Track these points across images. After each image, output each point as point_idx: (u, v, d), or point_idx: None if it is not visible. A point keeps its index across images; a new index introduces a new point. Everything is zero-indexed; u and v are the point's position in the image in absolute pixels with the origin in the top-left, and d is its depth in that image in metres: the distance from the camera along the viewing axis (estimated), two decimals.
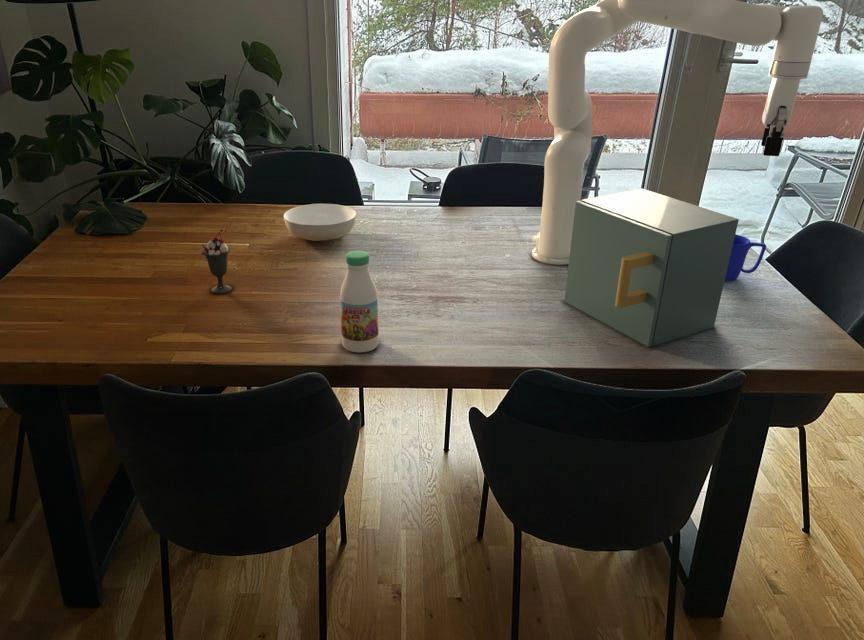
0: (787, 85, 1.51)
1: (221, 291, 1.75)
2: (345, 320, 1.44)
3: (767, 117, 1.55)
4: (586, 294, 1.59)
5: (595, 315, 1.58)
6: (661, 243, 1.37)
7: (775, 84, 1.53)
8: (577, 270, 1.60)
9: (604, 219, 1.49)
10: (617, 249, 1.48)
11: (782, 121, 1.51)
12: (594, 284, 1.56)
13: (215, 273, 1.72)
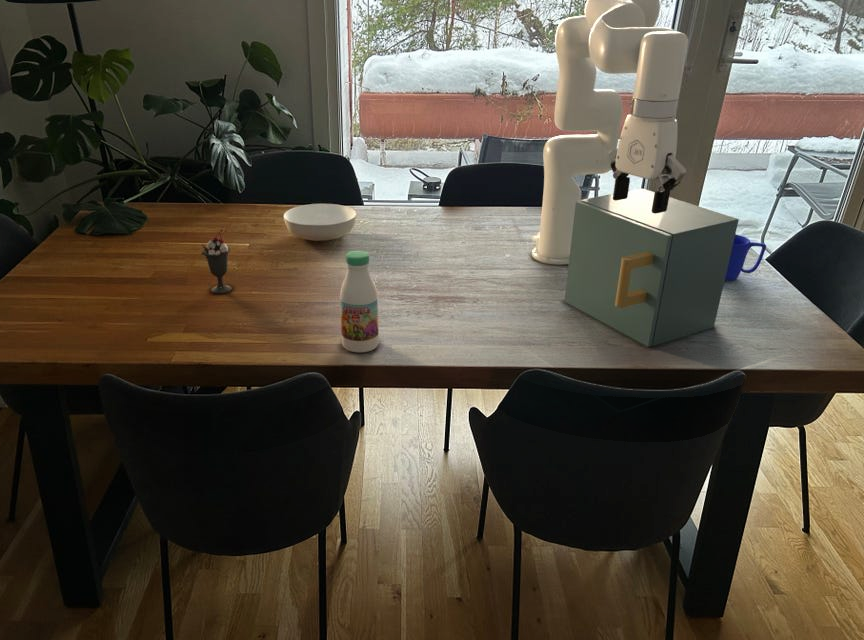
0: (671, 128, 1.23)
1: (221, 291, 1.75)
2: (345, 320, 1.44)
3: (656, 169, 1.25)
4: (586, 294, 1.59)
5: (595, 315, 1.58)
6: (661, 243, 1.37)
7: (659, 129, 1.22)
8: (577, 270, 1.60)
9: (604, 219, 1.49)
10: (617, 249, 1.48)
11: (684, 172, 1.23)
12: (594, 284, 1.56)
13: (215, 273, 1.72)
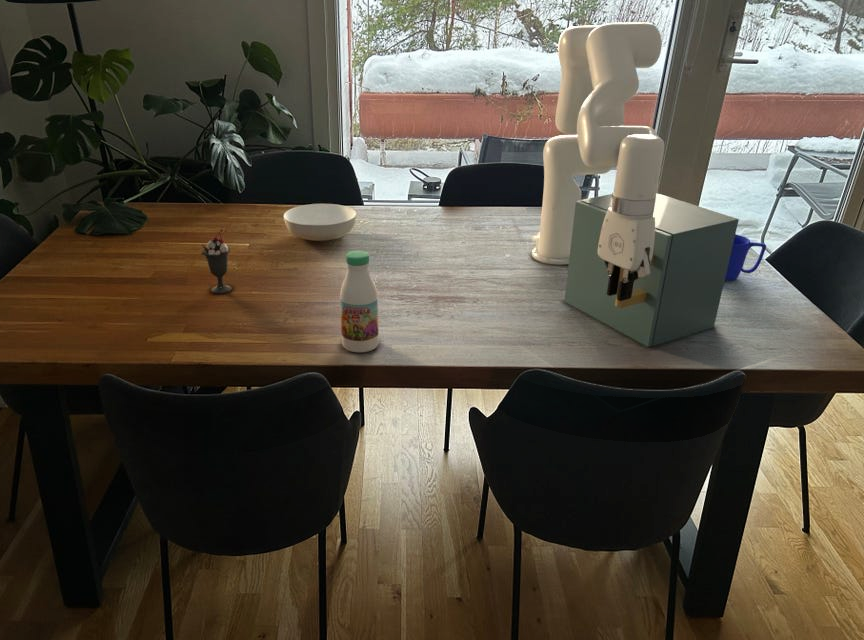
0: (649, 225, 1.30)
1: (221, 291, 1.75)
2: (345, 320, 1.44)
3: (634, 262, 1.32)
4: (586, 294, 1.59)
5: (595, 315, 1.58)
6: (661, 243, 1.37)
7: (637, 226, 1.30)
8: (577, 270, 1.60)
9: None
10: None
11: (647, 275, 1.33)
12: (594, 284, 1.56)
13: (215, 273, 1.72)
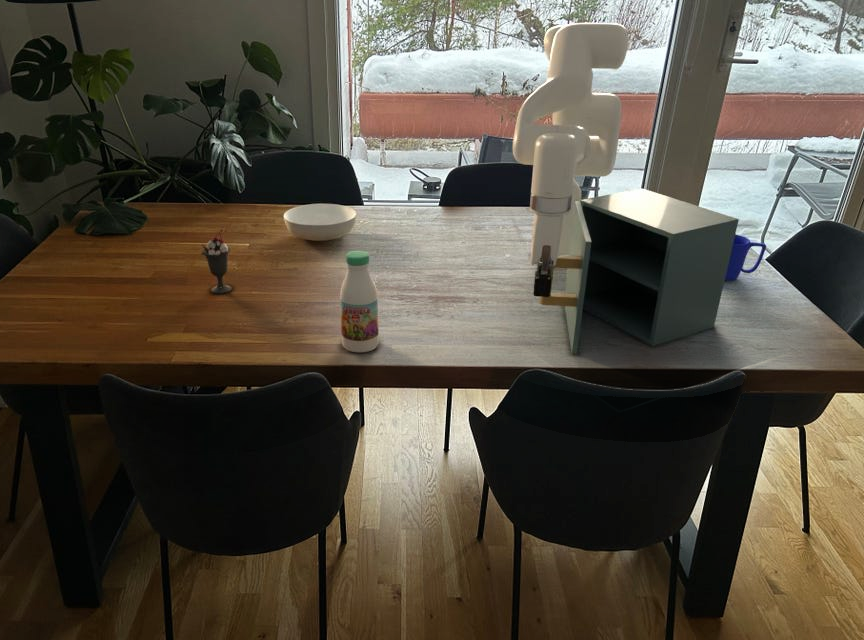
0: (548, 223, 1.32)
1: (221, 291, 1.75)
2: (345, 320, 1.44)
3: (532, 257, 1.35)
4: None
5: None
6: (584, 248, 1.35)
7: (536, 221, 1.33)
8: (568, 270, 1.60)
9: (577, 220, 1.49)
10: (576, 252, 1.47)
11: (545, 274, 1.35)
12: (569, 286, 1.56)
13: (215, 273, 1.72)
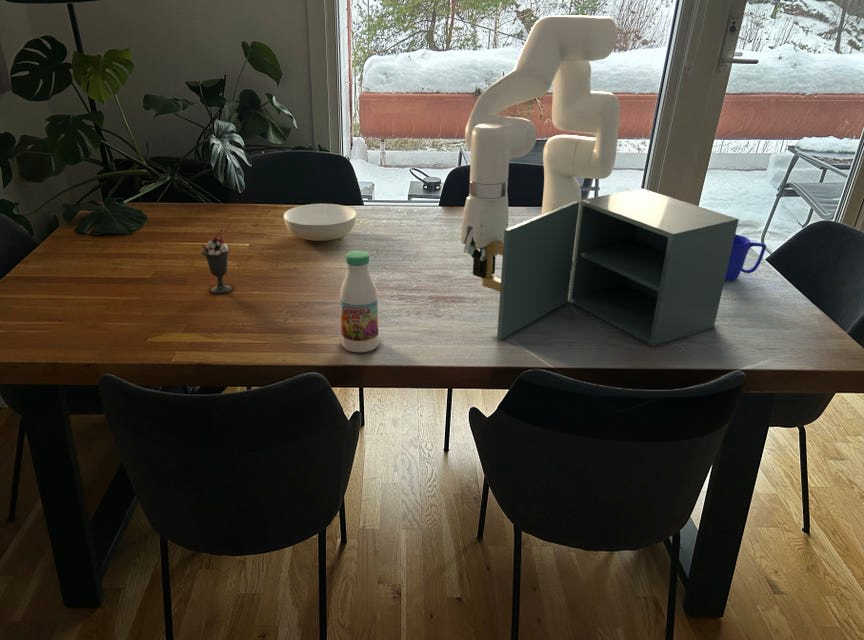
0: (472, 205, 1.42)
1: (221, 291, 1.75)
2: (345, 320, 1.44)
3: (461, 235, 1.46)
4: None
5: None
6: None
7: (465, 203, 1.44)
8: None
9: None
10: None
11: None
12: None
13: (215, 273, 1.72)
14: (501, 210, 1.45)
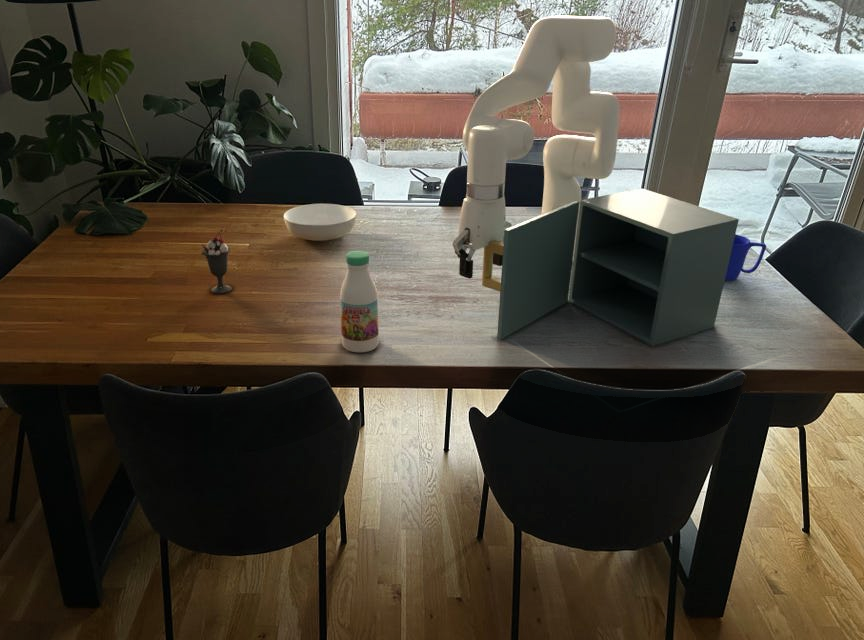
0: (469, 207, 1.42)
1: (221, 291, 1.75)
2: (345, 320, 1.44)
3: None
4: None
5: None
6: None
7: None
8: None
9: None
10: None
11: (455, 244, 1.43)
12: None
13: (215, 273, 1.72)
14: (498, 212, 1.45)
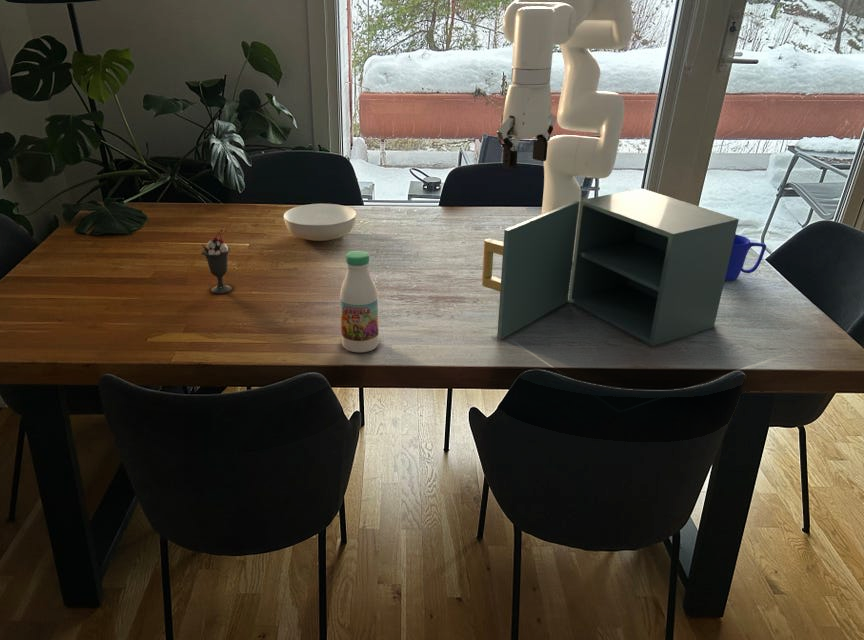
0: (514, 93, 1.39)
1: (221, 291, 1.75)
2: (345, 320, 1.44)
3: None
4: None
5: None
6: None
7: (507, 92, 1.41)
8: None
9: None
10: None
11: (500, 132, 1.40)
12: None
13: (215, 273, 1.72)
14: (544, 100, 1.42)
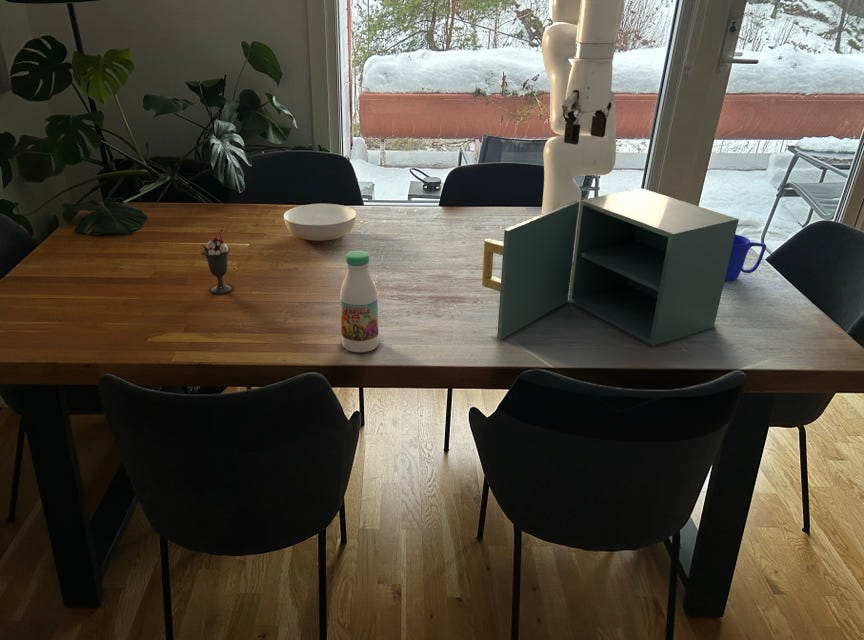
0: (579, 67, 1.42)
1: (221, 291, 1.75)
2: (345, 320, 1.44)
3: None
4: None
5: None
6: None
7: (571, 66, 1.44)
8: None
9: None
10: None
11: (565, 105, 1.43)
12: None
13: (215, 273, 1.72)
14: (606, 75, 1.45)
